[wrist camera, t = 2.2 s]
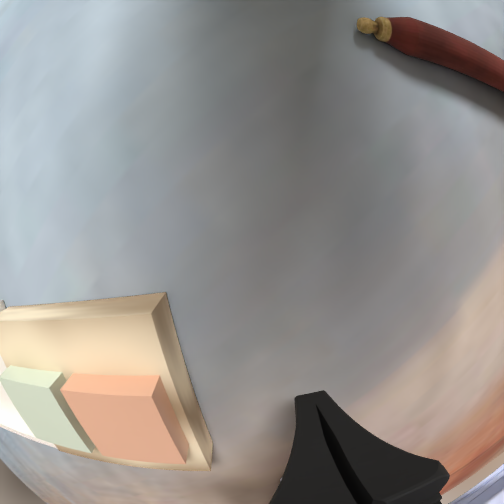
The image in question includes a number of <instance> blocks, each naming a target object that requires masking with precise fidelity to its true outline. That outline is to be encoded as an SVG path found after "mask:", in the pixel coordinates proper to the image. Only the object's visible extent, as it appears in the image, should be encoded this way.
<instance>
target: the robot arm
mask: <svg viewBox="0 0 504 504" xmlns="http://www.w3.org/2000/svg"><path fill="white" fill-rule="evenodd" d="M295 413H296V430H295V436H294V441H293V446H292V450H291V454H290V457H289V461H288V464H287V467H286V469H285V472H284V475H283V477H282V478H280V484H279V486H278V488H277V490H276V492H275V494H274V496H273V498H272V499H271V501H270V503H269V504H442V503H441V502H440V500H441V499H442V496H441V495H440V493H439V492H440V490H441V489H442V488H443V487H444V485H445V484H446V483H447V481H448V480H449V476H450V475H449V473H448V472H447V470H446V469H445V468H444V466H443V465H442V464H441V463H440V462H439V461H437V460H433V459H429V458H424V457H420V456H417V455H414V454H411V453H408V452H406V451H404V450H401V449H399V448H397V447H394V446H392V445H390V444H388V443H386V442H385V441H383V440H381V439H379V438H378V437H376V436H374V435H373V434H371V433H370V432H368V431H367V430H366V429H364V428H363V427H362V426H360V425H359V424H358V423H357V422H355V421H354V420H353V419H352V418H351V417H350V416H349V415H347V414H346V413H345V412H344V411H343V410H342V409H341V408H340V407H339V406H338V405H337V404H336V403H335V402H334V401H333V400H332V398H331V397H330V396H329V395H328V394H327V393H326V392H325V391H324V390H323V391H319V392H314V393H309V394H304V395H299V396H296V397H295ZM448 504H504V464H503V465H501V466H500V467H499V468H498V469H497V470H495V471H494V472H493V473H492V474H490V475H489V476H488V477H486V478H485V479H484V480H483V481H481V482H480V483H478V484H477V485H476V486H474V487H473V488H472V489H470V490H469V491H467V492H466V493H464V494H463V495H461V496H460V497H458V498H457V499H455V500H454V501H452V502H450V503H448Z"/></svg>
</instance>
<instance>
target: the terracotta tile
mask: <svg viewBox="0 0 504 504" xmlns="http://www.w3.org/2000/svg"><path fill="white" fill-rule="evenodd" d="M60 391H61V392H62V394H63V396H64V398H65V400H66V401H67V403H68V405H69V406H70V408H71V410H72V411H73V413H74V415H75V416H76V418H77V419H78V421H79V423H80V424H81V426H82V427H83V429H84V430H85V432H86V433H87V435H88V436H89V438H90V439H91V440H92V442H93V443H94V445H95V446H96V447H97V449H98V450H99V451H100V453H101V454H102V455H103V456H108V457H113V458H120V459H127V460H134V461H143V462H153V463H168V464H186V460H187V454H188V447H189V443H188V441H187V439H186V437H185V434H184V432H183V430H182V428H181V426H180V424H179V421H178V419H177V417H176V414H175V412H174V410H173V407H172V405H171V403H170V400H169V398H168V395H167V393H166V390H165V388H164V385H163V383H162V380H161V377H160V375H145V376H124V375H93V374H77V373H73V374H72V375H71V376H70V378H69V379H68V380H67V381H66V383H65V384H64V385H63V387H62V388H61V389H60Z"/></svg>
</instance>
